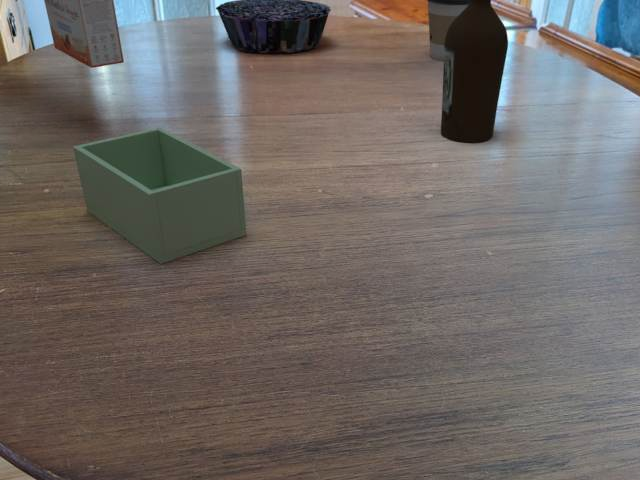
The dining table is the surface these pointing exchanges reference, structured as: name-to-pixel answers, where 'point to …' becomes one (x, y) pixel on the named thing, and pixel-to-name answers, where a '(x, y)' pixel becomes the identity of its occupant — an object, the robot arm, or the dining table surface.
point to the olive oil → (473, 73)
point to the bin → (162, 192)
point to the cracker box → (86, 30)
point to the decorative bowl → (274, 24)
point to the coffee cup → (442, 22)
